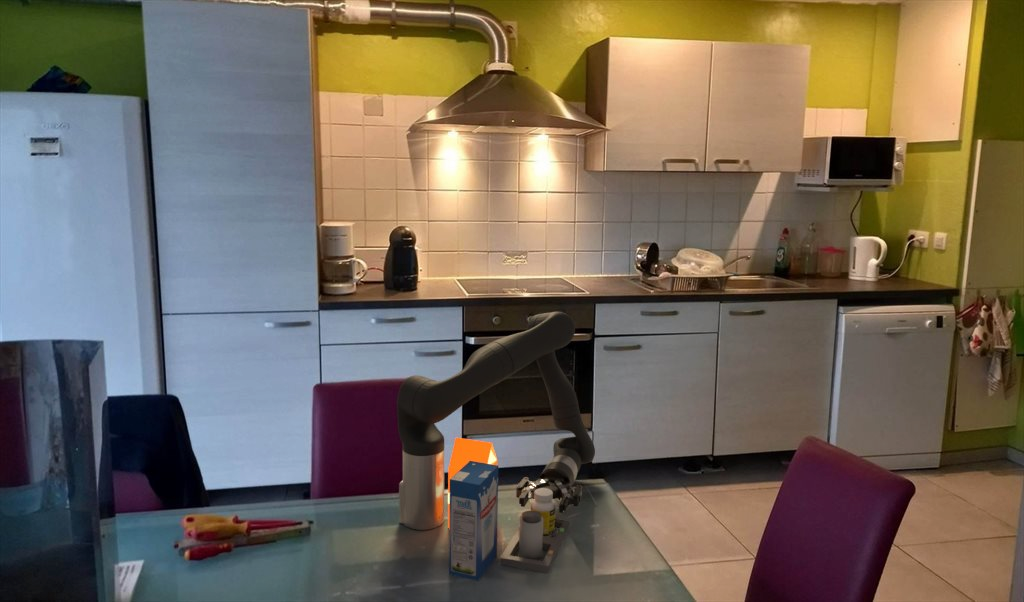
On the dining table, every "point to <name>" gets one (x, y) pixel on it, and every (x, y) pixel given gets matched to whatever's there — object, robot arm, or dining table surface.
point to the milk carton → (473, 520)
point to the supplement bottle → (545, 509)
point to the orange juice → (468, 458)
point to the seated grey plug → (531, 535)
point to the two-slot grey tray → (548, 544)
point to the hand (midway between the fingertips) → (541, 505)
